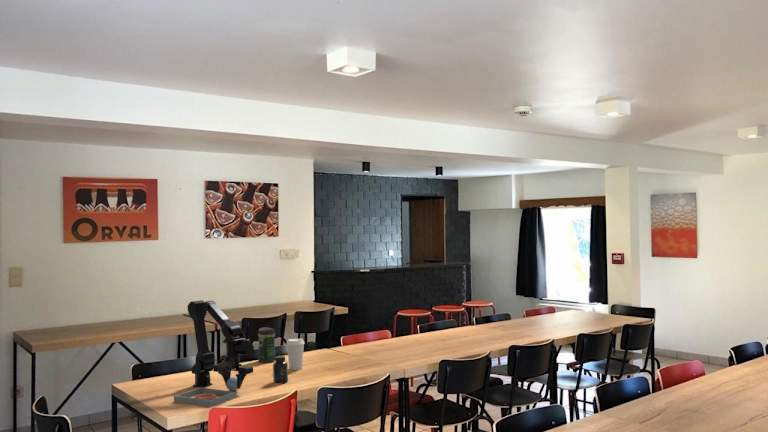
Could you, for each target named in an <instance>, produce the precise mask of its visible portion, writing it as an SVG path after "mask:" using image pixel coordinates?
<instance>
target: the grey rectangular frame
mask: <svg viewBox="0 0 768 432" xmlns="http://www.w3.org/2000/svg"><path fill="white" fill-rule="evenodd" d="M236 398H237V391H230V390H223V389H217V388H216V389H215V388H210V387H209V388H208V387H197V388H194V389H191V390H188V391H185V392H182V393H179V394H176V395H173V402H174V403H179V404H187V405H192V406H199V407H207V408H212V407H214V406H217V405H220V404H223V403H226V402H229V401H231V400H233V399H236Z"/></svg>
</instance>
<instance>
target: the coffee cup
mask: <svg viewBox="0 0 768 432" xmlns="http://www.w3.org/2000/svg"><path fill="white" fill-rule="evenodd" d="M285 344H286V349H287V356H288V368H289V369H288V370H290V371H299V370H303V363H304V362H303V361H304V360H303V358H304V348H305V347H304V345H305V344H306V343H305V341H304V339H303V338H289V339H287V341H286V343H285Z"/></svg>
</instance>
